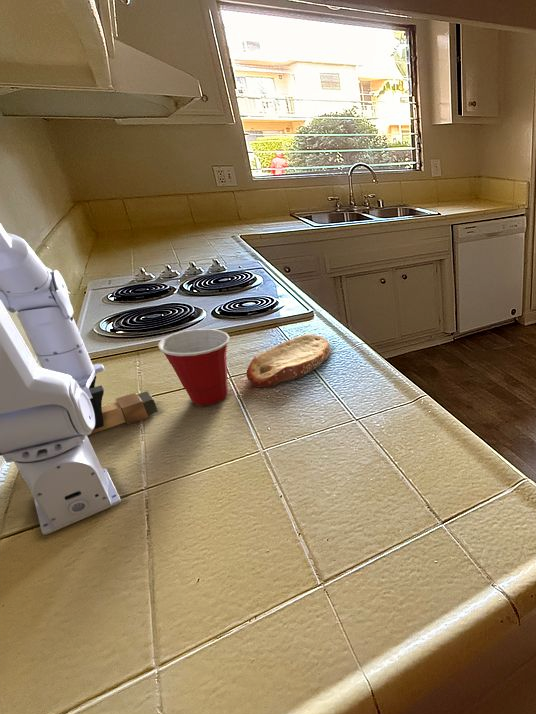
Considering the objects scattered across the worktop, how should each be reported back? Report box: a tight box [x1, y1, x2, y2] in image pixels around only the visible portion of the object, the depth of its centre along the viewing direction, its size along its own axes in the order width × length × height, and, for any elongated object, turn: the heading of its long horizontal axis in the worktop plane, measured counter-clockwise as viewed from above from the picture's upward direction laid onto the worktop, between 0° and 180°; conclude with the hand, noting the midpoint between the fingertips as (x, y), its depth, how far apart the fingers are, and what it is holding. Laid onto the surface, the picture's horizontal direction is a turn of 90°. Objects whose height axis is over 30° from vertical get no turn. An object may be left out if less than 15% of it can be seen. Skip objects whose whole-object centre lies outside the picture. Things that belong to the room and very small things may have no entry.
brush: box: [88, 391, 159, 436], centre depth 77 cm, size 13×4×3 cm, turn 136°
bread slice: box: [246, 333, 332, 388], centre depth 98 cm, size 18×18×4 cm
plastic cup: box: [157, 328, 231, 407], centre depth 83 cm, size 11×11×12 cm
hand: (93, 422), depth 76 cm, fingers open, 4 cm apart
